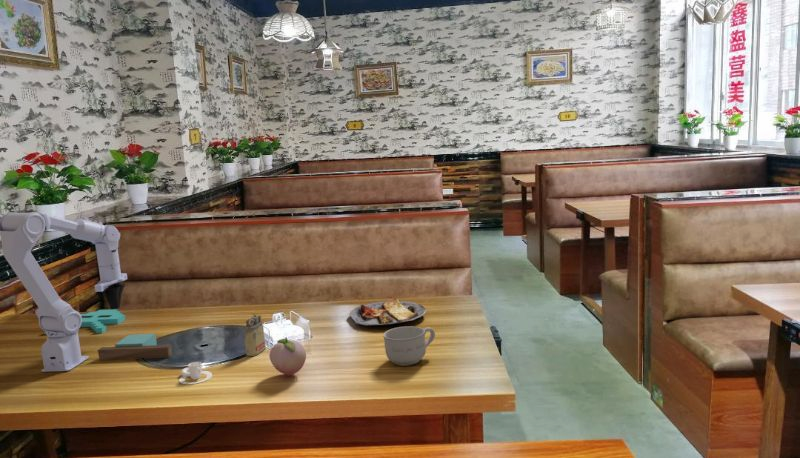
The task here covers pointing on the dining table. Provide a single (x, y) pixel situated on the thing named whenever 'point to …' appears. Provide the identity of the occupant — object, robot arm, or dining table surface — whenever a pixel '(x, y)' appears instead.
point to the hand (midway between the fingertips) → (115, 308)
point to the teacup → (407, 344)
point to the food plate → (387, 312)
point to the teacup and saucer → (194, 373)
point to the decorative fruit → (288, 356)
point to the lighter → (254, 336)
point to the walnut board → (134, 352)
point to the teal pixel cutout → (101, 319)
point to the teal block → (138, 340)
